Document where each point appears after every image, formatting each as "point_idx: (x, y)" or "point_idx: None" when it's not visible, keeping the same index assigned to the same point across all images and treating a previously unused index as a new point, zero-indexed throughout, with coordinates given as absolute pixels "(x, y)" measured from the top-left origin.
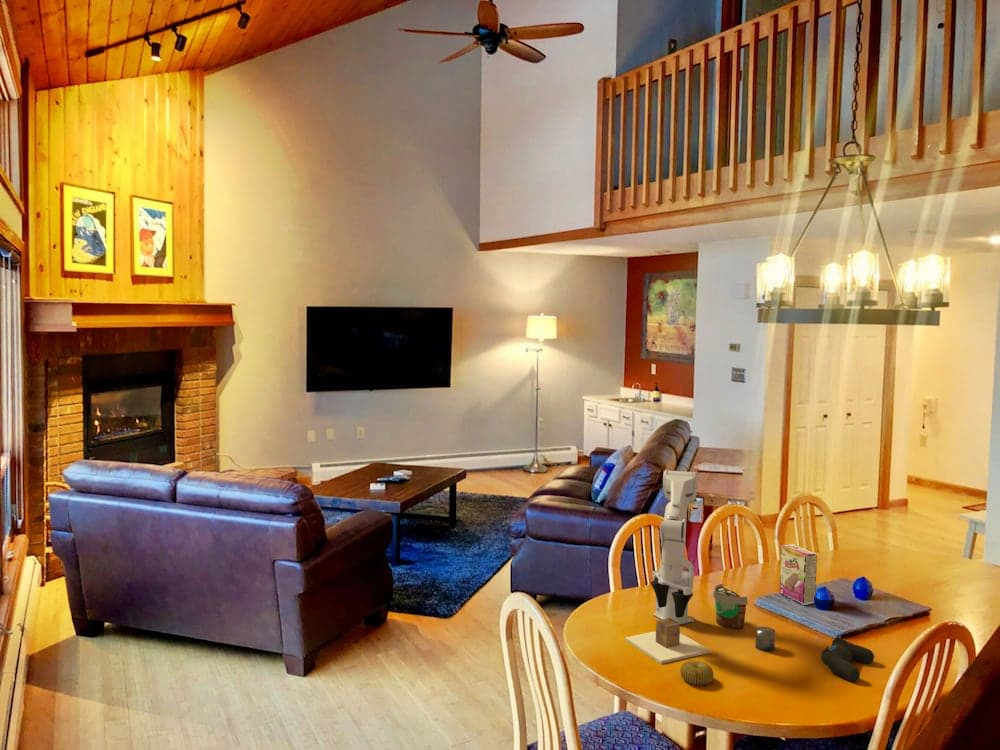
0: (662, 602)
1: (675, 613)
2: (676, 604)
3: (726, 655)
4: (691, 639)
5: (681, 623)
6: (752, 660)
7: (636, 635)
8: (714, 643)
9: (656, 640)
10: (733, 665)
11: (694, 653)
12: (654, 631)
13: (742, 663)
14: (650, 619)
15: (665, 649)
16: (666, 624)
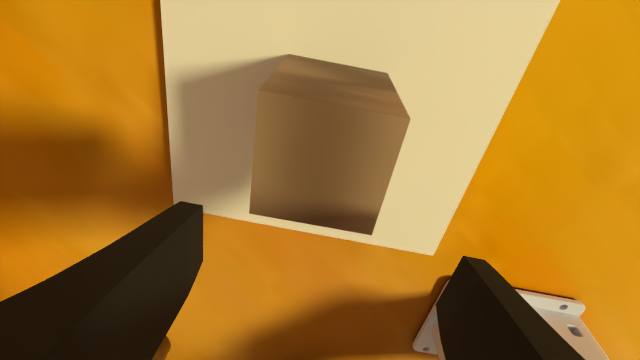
0: (467, 320)
1: (178, 220)
2: (20, 307)
3: (134, 229)
4: (292, 229)
5: (433, 309)
6: (69, 259)
7: (533, 42)
8: (239, 271)
9: (381, 74)
10: (43, 183)
11: (169, 130)
12: (473, 171)
13: (53, 220)
14: (571, 265)
15: (277, 35)
16: (293, 125)
